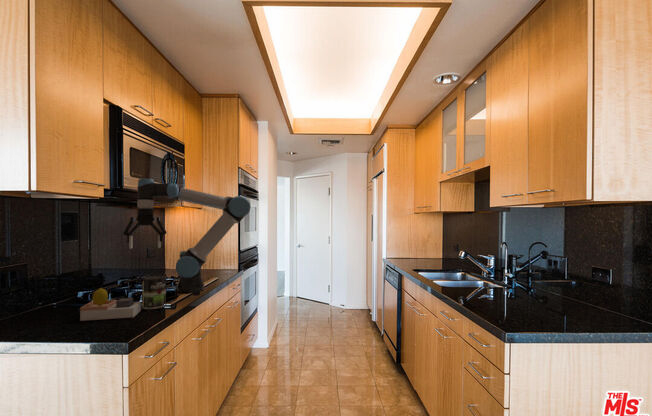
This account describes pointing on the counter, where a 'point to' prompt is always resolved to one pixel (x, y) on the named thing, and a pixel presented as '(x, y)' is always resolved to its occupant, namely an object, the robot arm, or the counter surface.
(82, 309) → the box
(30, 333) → the counter surface
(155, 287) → the coffee can
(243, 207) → the robot arm
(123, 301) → the breaker button
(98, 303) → the lemon
